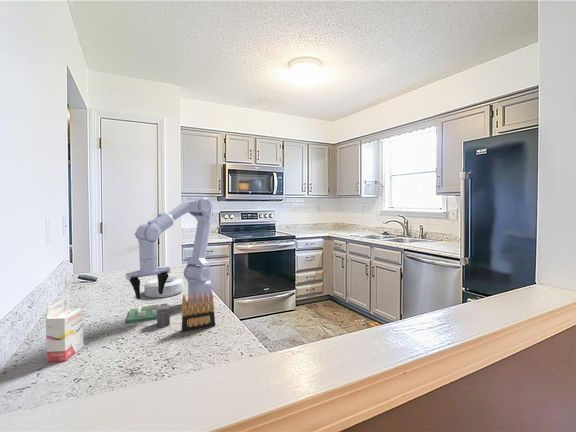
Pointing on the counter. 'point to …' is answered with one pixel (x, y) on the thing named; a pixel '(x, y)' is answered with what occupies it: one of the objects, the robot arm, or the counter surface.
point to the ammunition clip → (197, 313)
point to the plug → (163, 316)
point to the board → (143, 313)
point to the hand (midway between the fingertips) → (149, 295)
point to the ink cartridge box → (63, 331)
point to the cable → (170, 287)
